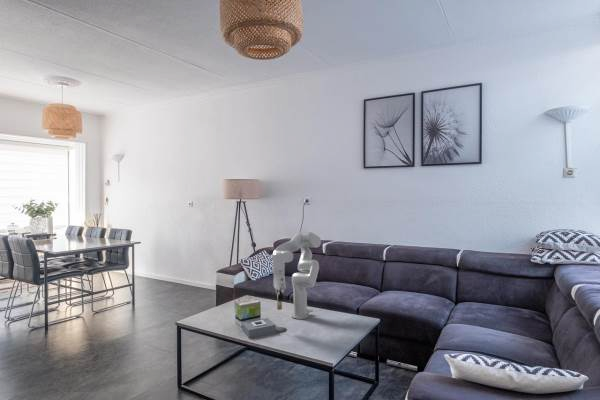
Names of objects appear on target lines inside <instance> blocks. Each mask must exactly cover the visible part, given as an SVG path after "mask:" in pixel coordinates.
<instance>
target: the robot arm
mask: <svg viewBox="0 0 600 400" xmlns="http://www.w3.org/2000/svg"><path fill="white" fill-rule="evenodd" d="M321 244H322V239H321V237H320V236H319V235H317V234H316V233H313V232H311V231H298V232H296V234H295V235H294V236H293V237H292V238H291V239H290V240H289V241H286V242H284V243H282V244H280V245H278V246H277V247H276V248H274V250H273V252H272V255H271V257H272V275H273V287H274V290H275V300H276V301H277V290H278V293H279V295H278V301H282V302H283V301H284V293H285V290H286V289H287V286H286V277H285V274H286V273H285V271H286V270H285V269H286V268H285V267H286V265H285V264H286V263H290V262H292V261H293V259H294V252H296V251H297V252H298V250H299V249H300V257H299V259H298V260H299V261H298V264H297V270H298V272H294V273H293V274H292V275H291V285H292V290H293V291H292V292H293V294H292V295H293V313H292V314H291V317H292V318H293V319H295V320H305V319H308V318H309V317H310V313H313V312H314V309H313V308H311V309H309V308H308V303H307V302H308V299H307V297H308V295H307V294H308V293H307V290H306V288H313V287H314V286H315V284H316V281H317V278H318V274H319V270H320V264H319V262H318V260H316V259H312V258H313V253H312V250H311V249H310V248H319V247H320V246H321Z"/></svg>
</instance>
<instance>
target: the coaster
mask: <svg viewBox="0 0 600 400" xmlns="http://www.w3.org/2000/svg"><path fill="white" fill-rule="evenodd" d="M285 332H287V328H286V327H284V326H279V327H278V326H276V333H279V334H281V333H285Z"/></svg>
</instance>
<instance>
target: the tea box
mask: <svg viewBox="0 0 600 400" xmlns="http://www.w3.org/2000/svg"><path fill="white" fill-rule="evenodd" d="M234 306H235V308H234V309H235V310H234V311H235V314H234V316H235V319H234V320H235V321H234V322H235V324H236V325H238V327H241V328H242V323H245V322H250V321H255V320H260V319H262V317H261V315H262V314H261V312H262V311H261V309H262V308H261V301H260V300H257V298H250V299H245V300H239V301H235V303H234Z"/></svg>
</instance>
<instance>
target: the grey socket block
mask: <svg viewBox="0 0 600 400" xmlns="http://www.w3.org/2000/svg"><path fill="white" fill-rule="evenodd" d="M276 328H277V325H276V323H274V322H273V321H272V320H271V319H270V318H261V319H260V320H255V321H250V322H245V323H242V327H241V331H242V333H244V334H245V336H246V338H248V339H251V338H257V337H260V336H266V335H269V334H275V333H277V332H276Z"/></svg>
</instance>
